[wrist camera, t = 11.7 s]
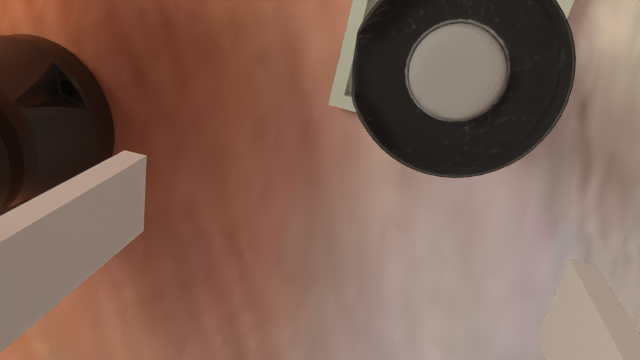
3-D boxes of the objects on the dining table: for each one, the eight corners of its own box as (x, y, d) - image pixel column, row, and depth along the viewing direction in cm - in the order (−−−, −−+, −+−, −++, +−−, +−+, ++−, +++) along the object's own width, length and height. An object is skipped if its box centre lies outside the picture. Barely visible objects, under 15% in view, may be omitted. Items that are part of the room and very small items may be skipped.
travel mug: (525, 41, 34) (630, 93, 16) (434, 109, 37) (433, 220, 19) (458, -49, 33) (488, -105, 15) (370, 28, 36) (302, 60, 18)
